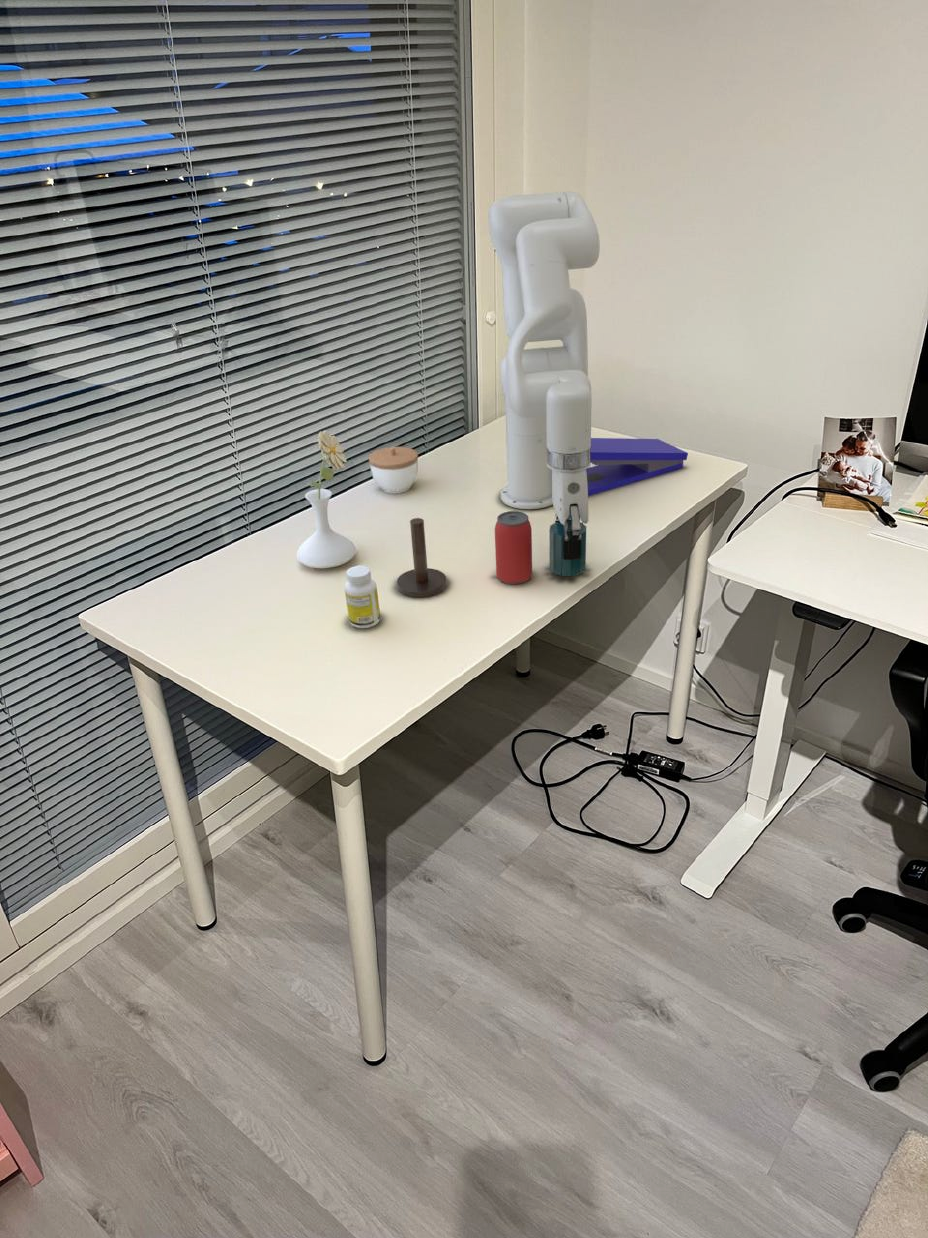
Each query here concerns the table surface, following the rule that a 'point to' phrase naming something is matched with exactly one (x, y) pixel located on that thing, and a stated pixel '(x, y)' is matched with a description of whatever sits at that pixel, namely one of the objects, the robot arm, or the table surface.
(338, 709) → the table surface
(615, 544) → the table surface
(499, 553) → the beer can
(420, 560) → the holder
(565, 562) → the teal wooden cylinder
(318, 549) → the flower in vase
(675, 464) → the stapler
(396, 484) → the trinket box
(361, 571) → the supplement bottle
